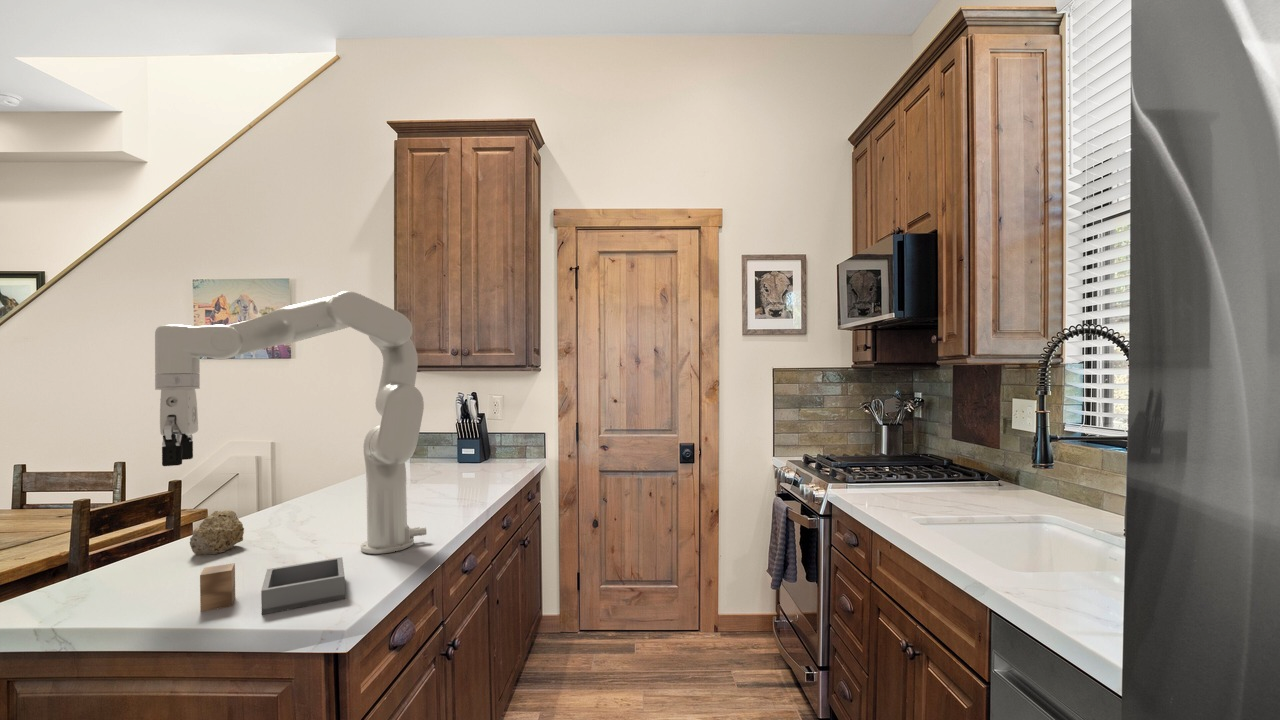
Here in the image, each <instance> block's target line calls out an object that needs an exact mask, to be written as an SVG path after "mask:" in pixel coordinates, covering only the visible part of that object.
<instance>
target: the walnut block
mask: <svg viewBox="0 0 1280 720" xmlns="http://www.w3.org/2000/svg"><path fill="white" fill-rule="evenodd" d="M199 587H200V588H199V592H200V593H199V594H200V596H199V600H200V602H199V603H200V604H199V605H200V608H199V609H200V612H205V611H211V610H218V609H223V608H228V607H232V606H233V605H234V602H235V600H236V563H235V562H234V563H226V564H221V565H220V564H219V565H215V566H214V565H213V566H206V567H204V568H203V570H202V571H201V573H200V574H199ZM217 608H218V609H217Z"/></svg>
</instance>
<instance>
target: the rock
mask: <svg viewBox="0 0 1280 720" xmlns="http://www.w3.org/2000/svg"><path fill="white" fill-rule="evenodd" d="M244 533H245V528H244V525H243V522H242V521H241V520H240V519H239V518H238V515H237V514H236V512H235V511H234V510H222V511H221V510H219V511H218V510H214V511H213V512H212V513H211V514H210V515H208V516H207V517H205V518H204V519H203V520H202V522H201V523H200V524H199V526H198V527H196V528H195V529H193V531H192V535H191V537H190V538H189V547H190V549H191V551H192V552H193V554H195V555H197V556H198V555H199V556H200V555H201V556H202V555H210V554H211V555H217V554H220V553H227V551H229V550H231V548H232V547H234V546H235V545H236V544H238V543H241V542H243V541H244Z"/></svg>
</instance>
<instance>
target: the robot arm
mask: <svg viewBox="0 0 1280 720" xmlns="http://www.w3.org/2000/svg"><path fill="white" fill-rule="evenodd" d="M347 328H351V329H353V330H355V331H356V332H359V333H362V334H364V335H366V336H368V338H369V340H370V341H371V343H373V344H374V345H375V346H376V347H377V348H378V349H379V351H380V353H381V355H382V370H381V375H380V381H379V386H378V388H377V393H376V398H375V409H376V412H378V414H379V415H380V416H381V421H380V424H378V425H377V426H374V427H372V428H371V429H370V430H369V431H368V432H367V433H366V435H365V438H364V442H363V456H364V463H365V477H366V478H365V480H366V482H365V484H366V489H365V490H366V491H365V492H366V528H367V529H366V533H367V536H366V537H367V541H364V542H363V543H362V544H361V545H360V551H361V552H362V553H364V554H369V555H370V554H372V555H379V554H380V555H381V554H389V553H395V551H396V552H399V551H402V550H405V549H408V548H410V547H412V546H413V545H414V544H415V543H414V542H415V541H414V539H415V538H414V537H417V536H418V537H419V536H420V537H421V536H426V535H427V527H420V526H417V527H414V528H413V527H410V526H409V524H408V515H407V514H408V509H407V506H408V503H407V497H408V496H407V467H406V462H407V461H409V460H410V459H411V458H412V457H413V455H414V453H415V451H416V448H417V445H418V441H419V435H420V430H421V425H422V419H423V415H424V408H425V407H424V406H425V401H424V398H423V395H422V392H421V391H420V390H419V388H418V387H416V382H417V381H416V380H417V373H418V365H419V358H418V352H417V349H416V346H415V344H414V342H413V341H412V339H411V337H412V335H413V325H412V323H411V321H410V320H409V318H408V317H407V316H406V315H405V314H403V313H401V312H399V311H398V310H395V309H393V308H391V307H389V306H387V305H384V304H382V303H380V302H377V301H375V300H373V299H372V298H369V297H368V296H365V295H363V294H361V293H358V292H356V291H350V290H345V291H344V290H343V291H340V292H338V293H337V294H335V295H331V296H326V297H322V298H318V299H315V300H310V301H306V302H301V303H297V304H292V305H288V306H284V307H281V308H278V309H275V310H273V311H271V312H269V313H267V314H264V315H261V316H258V317H254V318H252V319H247V320H244V321H239V322H236V323H232V324H226V325H225V324H213V325H212V324H211V325H199V326H197V325H196V326H193V325H184V324H162V325H158V326H157V327H156V329H155V331H154V387H155V388H154V390H155V391H160V399H159V400H160V401H159V402H160V404H159V405H160V406H159V429H160V430H159V431H160V435H161V436H162V442H161V443H162V445H161V466H163V467H172V466H180V465H182V464H183V461H184V460H192V459H194V441H193V434H196V433H197V432H198V431H199V419H198V400H197V392H196V389H197V390H199V389H201V388H200V385H201V382H200V381H201V379H200V378H201V376H200V373H201V372H200V371H201V370H200V367H201V365H200V358H203V357H204V358H209V359H210V358H211V359H213V360H220V361H221V360H227V359H230V358H234V357H237V356H242V355H245V354H249V353H253V352H257V351H259V350H264V349H268V348H271V347H275V346H283V345H288V344H289V345H290V344H292V343H297V342H300V341H304V340H307V339H311V338H314V337H319V336H322V335H326V334H330V333H333V332H337V331H341V330H345V329H347Z"/></svg>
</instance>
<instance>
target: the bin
mask: <svg viewBox="0 0 1280 720" xmlns="http://www.w3.org/2000/svg"><path fill="white" fill-rule="evenodd" d="M343 561H344V560H343V557H341V556H340V557H335V558H328V559H321V560H317V561H310V562H309V561H308V562H304V563H303V562H302V563H296V564H292V565H291V564H290V565H286V566H285V565H284V566H279V567H273V568H266V571H265V572H266V573H265V576H264V579H263V582H262V587H261V591H260V592H261V593H260V594H261V595H260V596H261V597H260V598H261V600H260V601H261V615H262V616H263V615H268V614H267V613H269V614H274V613H278V611H279V612H283V611H282V610H284V611H288V610H287V609H290V610H295V609H300V608H305V607H309V606H310V605H311V606H316V605H321V604H325V603H326V604H327V603H330V602H337V601H341V600H345V599H346V582H345V581H346V577H345V568H344V562H343ZM304 606H305V607H304ZM294 608H295V609H294Z"/></svg>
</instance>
